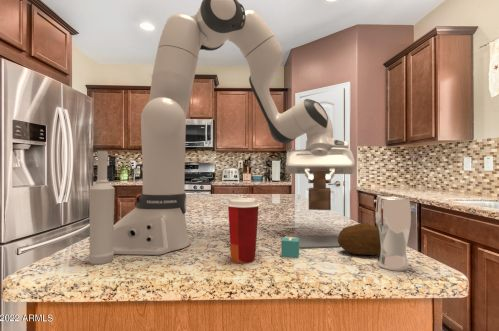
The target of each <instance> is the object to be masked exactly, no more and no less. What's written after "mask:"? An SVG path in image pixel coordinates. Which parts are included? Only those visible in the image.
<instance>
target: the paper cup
mask: <svg viewBox="0 0 499 331" xmlns="http://www.w3.org/2000/svg"><path fill="white" fill-rule="evenodd" d="M259 206H261V205H260V203H259V200H258V199H257V198H248V197H239V198H238V197H237V198H235V197H234V198H229V200H227V204H226V207H228V209H227V210H228V212H227V213H228V227H229V228H228V229H229V230H228V231H229V233H228V234H229V248H230V250H229V251H230V260H231V262H233V263H236V264H249V263H252V262H255V260H256V251H257V250H256V249H257V234H258V233H257V232H258V220H259Z"/></svg>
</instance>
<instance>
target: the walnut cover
mask: <svg viewBox="0 0 499 331" xmlns="http://www.w3.org/2000/svg"><path fill="white" fill-rule="evenodd" d="M312 175H313V183H312V184H313V185H312V186H313V187H309V188H308V210H312V211H313V210H314V211H331V210H332V206H331V205H332V204H331V202H332V198H331V197H332V196H331V195H332V194H331V193H332V191H331V190H332V188H330V187H327V183H326V175H327V174H326V170H313V174H312Z"/></svg>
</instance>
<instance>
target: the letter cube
mask: <svg viewBox="0 0 499 331" xmlns="http://www.w3.org/2000/svg"><path fill="white" fill-rule="evenodd" d="M280 242H281V244H280V246H281V251H280V252H281V253H280V254H281V255H280V256H281V258H289V257H294V258H293V259H299V256H300V249H299V238H294V237H288V236H282V239H281V241H280Z"/></svg>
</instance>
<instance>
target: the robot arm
mask: <svg viewBox="0 0 499 331" xmlns="http://www.w3.org/2000/svg"><path fill="white" fill-rule="evenodd" d="M197 10H198V11H197V12H196V14H194V15H189V14H185V13H174V14H173V13H172V14H171V15H170V16H169V17H168V18H167V20H166V22H165V24H164V26H163V29H162V31H161V35H160V38H159V40H158V41H159V42H158V45H157V50H156V55H155V60H154V66H153V70H152V74H151V83H150V84H151V85H150V91H149V92H150V93H149V99H148V102H147V103H146V104H145V106H144V107H143V108H142V111H141V115H140V128H141V129H140V130H141V131H140V132H141V138H140V139H141V157H142V193H139V194H137V195H136V196H135V197H134V198H133V200H134V201H133V203H134V207H135V208H133V209H132V210H131V211H129V212H128V213H127V214H125V216H123V217H122V218H121V219H119V220H118V221H117V222H116V223H115V224H114V226H113V251H114V255H138V256H140V255H142V256H143V255H144V256H145V255H146V256H151V255H152V256H153V255H155V256H159V255H163V254H164V255H165V254H167V253H169V252H174V251H177V250H180V249H184V248H186V247H189V246H190V245H191V240H190V238H189V234H188V229H187V221H186V212H187V193H185V176H186V175H185V170H186V168H185V165H186V164H185V163H186V162H185V161H186V137H187V136H186V130H187V128H186V127H187V123H186V122H187V117H188V116H187V115H188V112H189V105H190V101H191V96H192V90H193V86H194V80H195V76H196V70H197V66H198V60H199V55H200V51H201V50H202V51H210V52H212V51H216V50H218V49H220V48H221V47H222V46H223V45H225V42H226V41H229V42H231V43H233V44H234V45H236V47H237V48H239V50H240V52H241V54H242V55H243V57H244V58H245V60H246V62H247V64H248V68H249V72H250V76H249V78H248V81H249V85H250V88H251V91H252V93H253V96H254V98H255V99H256V102H257V104H258V106H259V108H260V110H261V112H262V114H263V117H264V118H265V119H264V120H265V122H266V123H267V127H268V130H269V132H270V135H271V137H272V138H273V140H275V141H276V142H277V143H279V144H284V145H289V144H290V143H291V142H293V141H294V140H296V139H297V138H299V137H301V136H302V135H305V134H306V136H305V137H306V141H305V149H291V150H290V151H287V152H286V162H285V169H286V172H287V173H288V174H290V175H296V174H299V175H304V176H305V178H306V179H307V182H308V184H313V170H326V184H332V179H333V178H334V177H335V175H352V174H354V173H355V171H356V170H355V169H356V160H355V158H354V157H355V156H354V154H353V151H352V150H351V149H349V147H350V146H349V142H348V141H345V140H340V139H337V138H334V129H333V124H332V121H331V118H330V117H329V115H328V114H327V112H326V110H325V108H324V107H323V106H322V104H320V102H318V101H316V100H313V99H310V98H305V99H303V100H301V101H300V102H298V103H297V104H295V105H293V106H292V107H291V108H288V109H287V110H286V111H284V112H282V113H280V112H279V109H278V108H277V106H276V104H275V100H273V97H272V95H271V92H270V84H271V82H272V80H273V79H274V77H275V75H277V72H278V71H279V69H280V68H281V66H282V64H283V63H282V62H283V58H284V51H283V48H282V45H281V43H280V42H279V40H278V39H277V37H276V36H275V34H274V32H273V31H272V29H271V28H270V27H269V25H268V23H267V22H266V21H265V20H264V19H263V17H261V16H260V14H259V13H257V12H256V11H255V10H253V9H245V8H244V6H243V4H242V3H240V2H239V1H238V0H202V1H201V3H200V6H199V8H198V9H197Z"/></svg>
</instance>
